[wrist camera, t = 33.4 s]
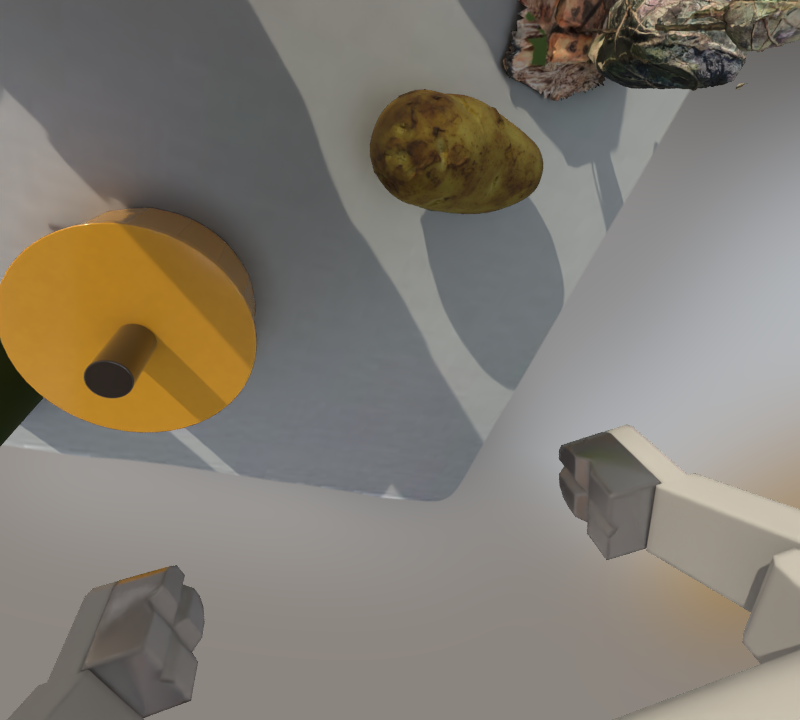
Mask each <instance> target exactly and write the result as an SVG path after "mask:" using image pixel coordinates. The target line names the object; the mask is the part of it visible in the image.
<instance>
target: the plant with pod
mask: <svg viewBox="0 0 800 720" xmlns="http://www.w3.org/2000/svg"><path fill="white" fill-rule="evenodd" d="M518 2H519V3H521V4H523V5H525V6H526V7H528V8H527V9H525V10H523V11H521V12H519V13H518V15H520V16H522V17H524V19H521V20H518V21H517V31H511V32H512V36H513V39H512V40H511V41H510V42H511V43H512V45H513V46H511V47H509V49H510V50H511V51H506V55H507V57H506V58H505V59H504V60H502V61H503V64H504V68H505V70H507V73H506V74H509V78H510V77H511V76H512V77H513V78H515V79H516V80H518V81H522V83H525V84H527V85H528V86H530V87H532V88H533V89H535V90H537V91H539V93H540V94H541V93H542V91H543V90H544V98H545V99H546V97H547V96H548V95H549V93H550V92H551V95H550V99H551V100H555V101H558V100H559V98H560V97H561V100H562V99H564V97H565V98H566V99H567V98H568V97H569V96H572V93H573V95H574V91H575V92H577V93H579V92H581V91H583V92H584V93H586V91H585V90H588V91H589V89H590V88H591V89H592V90H593V88H592V86H593V87H595V88H596V86H597V85H598V86H599V83H600V84H602V85H603V86H604V84H603V81H605V77H606V78H608V79H610V80H612V81H614V82H616V83H619V84H621V85H623V86H625V87H629V88H642V89H644V88H645V89H646V88H653V89H654V88H658V89H665V88H667V89H670V88H674V89H675V88H681V89H691V90H693V91H694V90H696V89H697V88H707V87H709V86H711V87H714V86H718V85H723V84H726V83H728V82H732V81H733V80H734V79H735V77H736V76H737V74H738V72H739V71H740V70H741V68H742V67H743V65H744V63H745V59H746V55H747V51H754V50H755V51H757V52H760V51H764V50H765V49H768V48H772V47H779V46H782V45H784V44H786V43H790V42H794V41H797V40H800V0H520V1H518ZM743 85H744V83H740V84H739V85H738V86H737V87H736V89H738V90H739V89H740V88H741V87H742V86H743Z"/></svg>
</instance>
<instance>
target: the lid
mask: <svg viewBox="0 0 800 720" xmlns="http://www.w3.org/2000/svg"><path fill="white" fill-rule="evenodd" d="M0 339H1V342H2V344H3V347H4V349H5V351H6V353H7V355H8V357H9V359H10V360H11V362H12V363H13V365H14V367H15V368H16V370H17V371H18V372H19V373H20V375H21V376H22V377H23V378H24V379H25V381H26V382H27V383H28V384H29V385H30V386H31V387H33V388H34V389H35V390H36V391H37V392H38V393H39V394H40V395H42V396H43V397H44V398H46V399H47V400H48V401H49V402H51V403H52V404H54V405H55V406H57V407H59V408H60V409H62V410H64V411H65V412H67V413H69V414H71V415H74V416H76V417H78V418H80V419H82V420H85V421H88V422H90V423H93V424H96V425H99V426H103V427H107V428H111V429H116V430H122V431H129V432H163V431H171V430H176V429H181V428H185V427H188V426H191V425H194V424H197V423H199V422H202V421H204V420H206V419H208V418H210V417H212V416H213V415H215V414H217V413H218V412H220V411H221V410H222V409H224V408H225V407H226V406H227V405H229V404H230V403H231V402H232V401H233V400H234V399H235V398H236V397H237V396H238V394H239V393H240V392H241V390H242V389H243V387H244V386H245V384H246V382H247V380H248V378H249V376H250V374H251V372H252V368H253V365H254V362H255V355H256V349H257V334H256V327H255V321H254V318H253V315H252V311H251V309H250V306H249V304H248V302H247V300H246V298H245V296H244V294H243V293H242V291H241V289H240V288H239V286H238V285H237V283H236V282H235V281H234V280H233V278H232V277H231V276H230V275H229V274H228V272H227V271H226V270H225V269H224V268H223V267H222V266H221V265H220V264H218V263H217V262H216V261H215V260H214V259H213V258H212V257H210V256H209V255H208V254H206V253H205V252H204V251H202V250H201V249H199V248H198V247H196V246H194V245H193V244H191V243H189V242H188V241H186V240H184V239H182V238H179V237H177V236H175V235H173V234H171V233H168V232H165V231H162V230H159V229H156V228H153V227H150V226H145V225H140V224H136V223H128V222H118V221H96V222H89V223H82V224H76V225H73V226H70V227H66V228H63V229H60V230H58V231H55V232H53V233H51V234H49V235H47V236H44V237H42V238H41V239H39V240H38V241H36V242H35V243H33V244H32V245H30V246H28V247H27V248H26V249H25V250H24V251H23V252H22V253H21V254H20V255H19V256H18V257H17V258H16V259H15V260H14V261H13V263H12V264H11V266H10V267H9V268H8V270H7V271H6V273H5V275H4V278H3V280H2V282H1V284H0Z"/></svg>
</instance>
